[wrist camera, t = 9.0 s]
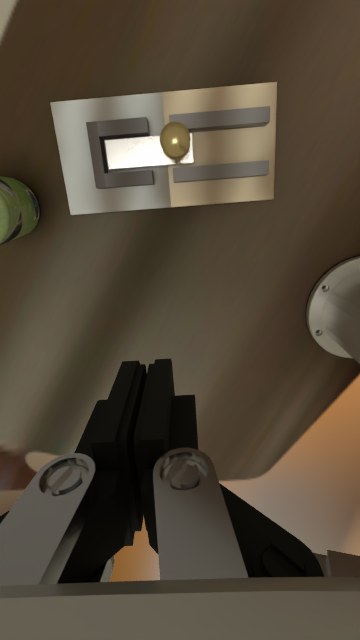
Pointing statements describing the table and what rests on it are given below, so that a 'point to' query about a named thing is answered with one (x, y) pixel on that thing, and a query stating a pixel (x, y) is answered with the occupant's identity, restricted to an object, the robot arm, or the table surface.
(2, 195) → the beverage can
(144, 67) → the table surface
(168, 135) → the bolt
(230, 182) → the lock board
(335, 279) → the robot arm
